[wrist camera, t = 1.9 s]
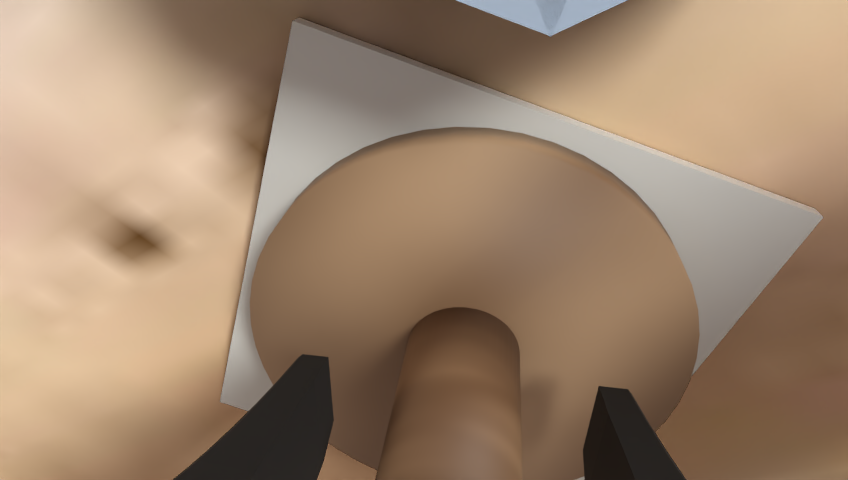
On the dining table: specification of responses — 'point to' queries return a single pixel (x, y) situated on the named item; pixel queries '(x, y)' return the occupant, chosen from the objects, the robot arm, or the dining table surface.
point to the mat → (487, 108)
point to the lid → (474, 303)
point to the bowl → (544, 12)
